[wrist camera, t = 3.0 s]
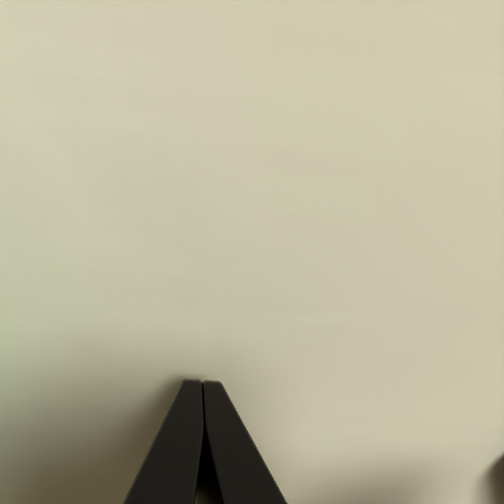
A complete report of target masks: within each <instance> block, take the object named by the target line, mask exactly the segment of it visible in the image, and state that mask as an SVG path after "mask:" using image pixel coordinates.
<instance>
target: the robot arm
mask: <svg viewBox="0 0 504 504" xmlns="http://www.w3.org/2000/svg"><path fill="white" fill-rule="evenodd" d="M123 504H287V502H286V500H285V498H284V497H283V495H282V493H281V491H280V489H279V487H278V486H277V484H276V482H275V480H274V478H273V476H272V475H271V473H270V471H269V469H268V467H267V465H266V464H265V462H264V460H263V458H262V456H261V454H260V453H259V451H258V449H257V447H256V445H255V444H254V442H253V440H252V438H251V436H250V434H249V433H248V431H247V429H246V427H245V425H244V423H243V422H242V420H241V418H240V416H239V414H238V412H237V411H236V409H235V407H234V405H233V403H232V401H231V400H230V398H229V396H228V394H227V392H226V390H225V389H224V387H223V385H222V383H221V382H219V381H210V380H204V381H203V382H201V381H200V380H197V379H184V380H183V381H182V383H181V385H180V387H179V389H178V391H177V393H176V395H175V397H174V399H173V401H172V403H171V406H170V408H169V410H168V412H167V414H166V416H165V418H164V420H163V422H162V424H161V426H160V428H159V430H158V432H157V434H156V436H155V438H154V440H153V443H152V445H151V447H150V449H149V451H148V453H147V455H146V457H145V459H144V461H143V463H142V465H141V467H140V469H139V471H138V473H137V475H136V477H135V479H134V482H133V484H132V486H131V488H130V490H129V492H128V494H127V496H126V498H125V500H124V502H123Z"/></svg>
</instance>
